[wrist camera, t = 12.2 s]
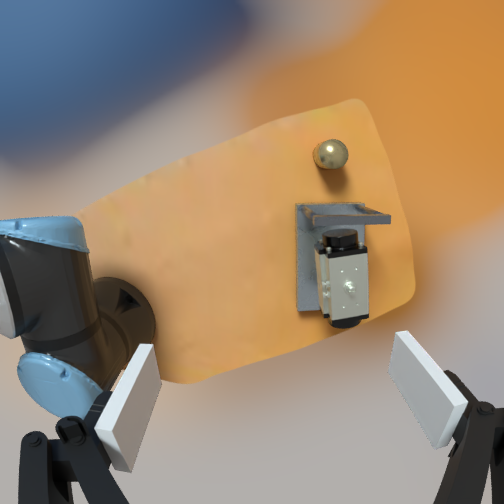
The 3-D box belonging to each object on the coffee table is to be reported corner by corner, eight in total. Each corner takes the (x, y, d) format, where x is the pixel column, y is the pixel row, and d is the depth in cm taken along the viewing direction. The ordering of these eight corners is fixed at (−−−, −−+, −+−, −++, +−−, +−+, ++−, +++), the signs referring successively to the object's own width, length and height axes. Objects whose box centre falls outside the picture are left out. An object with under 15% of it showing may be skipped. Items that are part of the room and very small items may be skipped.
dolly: (295, 303, 51) (308, 347, 38) (294, 202, 47) (309, 216, 34) (354, 299, 51) (383, 339, 38) (358, 201, 47) (394, 214, 34)
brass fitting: (313, 168, 45) (320, 168, 41) (312, 142, 44) (318, 139, 40) (339, 168, 45) (348, 168, 41) (338, 142, 44) (347, 139, 40)
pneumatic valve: (341, 219, 44) (370, 237, 33) (346, 295, 47) (371, 332, 36) (303, 224, 45) (320, 244, 33) (311, 300, 47) (327, 340, 36)
